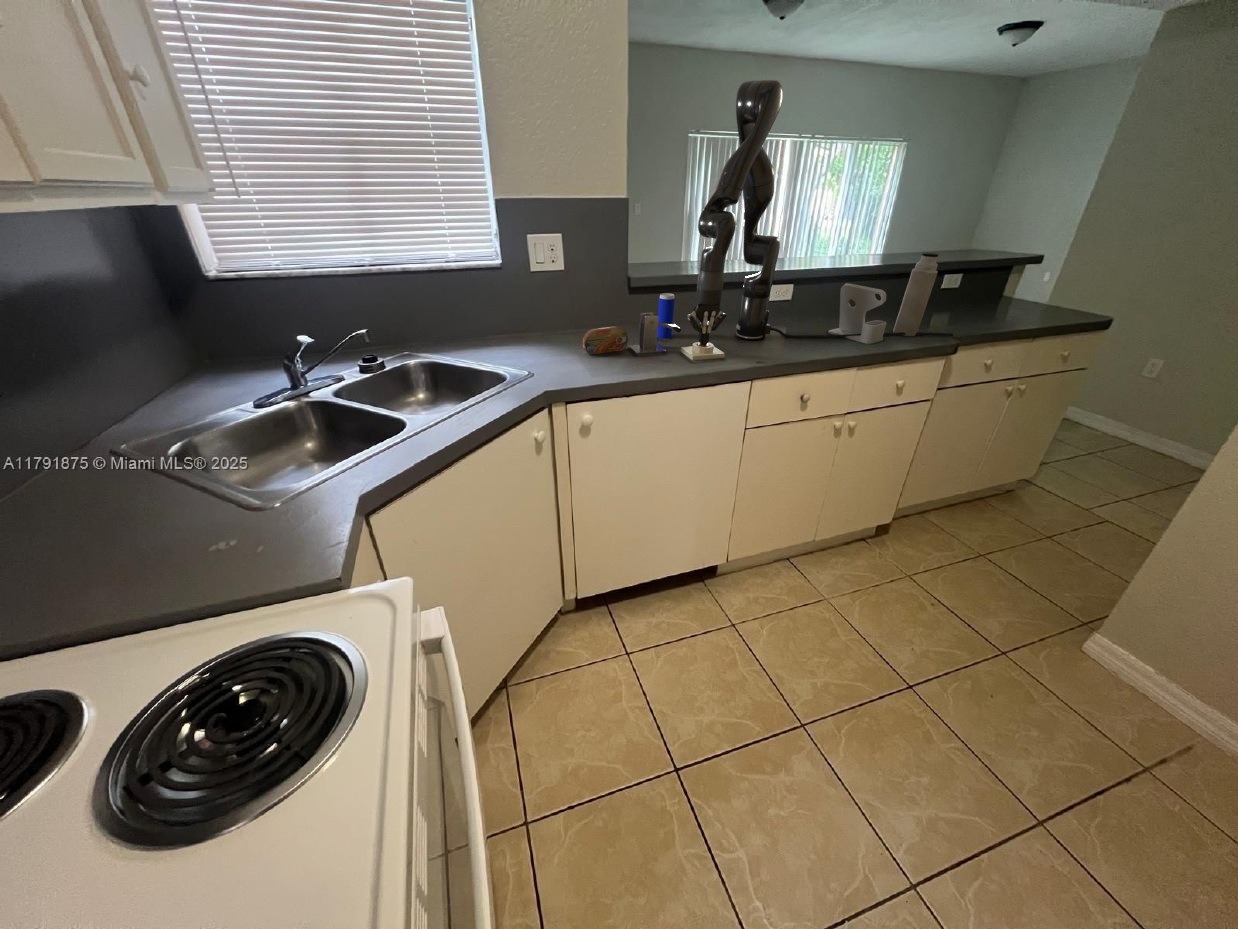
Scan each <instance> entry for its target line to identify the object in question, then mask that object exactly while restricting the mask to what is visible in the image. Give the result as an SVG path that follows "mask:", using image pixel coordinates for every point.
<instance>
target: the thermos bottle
mask: <svg viewBox="0 0 1238 929" xmlns="http://www.w3.org/2000/svg"><path fill="white" fill-rule="evenodd" d="M938 257H939V253H935V252H922V254H921V258H920V260H919V261H918V262H916V264H915V266H914V268H912V269H911V272H910V275H909V276H910V277H909V280H908V282H907V286H906V288H905V292H904V296H903V298H902V300H901V301H902V302H901V305H900V308H899V312H898V315H897V317H896V321H895V323H894V327H893V330H892V333H896V332H904V333H906V334H905V335H902V336H904V337H915V336H917V335H916V333H917V332H919V329H920V326H921V323H922V319H923V317H924V313H925V311H926V309H927V305H928V302H929V299H930V297H931V293H932V290H933V287H934V285H935V282H936V279H937V276H938V272H939V271H938V269H937V268H938V266H939V265H938V263H937V260H938Z"/></svg>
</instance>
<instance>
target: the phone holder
mask: <svg viewBox="0 0 1238 929" xmlns="http://www.w3.org/2000/svg"><path fill="white" fill-rule="evenodd" d="M839 294H840V296H839V297H840V299H839V325H838V326H839V327H837V328H833V329H829V330H828V334H829V335H845V334H861V335H860V336H846V337H843V338H845V339H848V340H852V341H856V342H858V343H863V344H867V345H871V344H875V343H879V342H882V341H883V340H884V335H883V334H884V333H885V331H886V327H887V322H886V321H885V320H880V319H876V320H875V319H874V320H871V321H867V322H866V313H867V312H869V311H871V310H873V309H876V308H878V307H880V306H882V305H883V304H885V302H886V301H887V293H886V291H884V290H883V289H880V288H876V287H869V286H866V285H859V284H855V283H847V282H846V283H845V284H843V285H842V286H841V287H840V293H839ZM876 294H877V295H879V296H880V300H879V299H877V297H876ZM851 300H852V301H853V302H854V306H852V305H851V304H850V301H851Z"/></svg>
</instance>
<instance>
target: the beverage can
mask: <svg viewBox="0 0 1238 929" xmlns="http://www.w3.org/2000/svg"><path fill="white" fill-rule="evenodd" d="M675 301H676V297H675V294H673V293H669V292H664V293H660V295H659V299H658V315H657V316H659V317H658V321H659V322H662V323H666V324H669V325H672V324H674V315H675ZM673 331H674V329H670V328H667V327H663V326H659V325H658V333H657V338H659V339H663V340H665V339H671V338H673Z"/></svg>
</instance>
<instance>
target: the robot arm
mask: <svg viewBox="0 0 1238 929" xmlns="http://www.w3.org/2000/svg"><path fill="white" fill-rule="evenodd" d="M735 96H736V98H735V119H736V120H735V121H736V128H737V133H738V135H737V136H738V140H739V141H738V142H739V147H738V148H737V149H735V151H734V152H733V154H731V155H730V157H729V158H728V160H726V163H725V164H724V166H723V168H722V171H721V174H720V175H719V179H718V182H717V185H716V188H715V190H714V192H713V194H712V195H711V197H710V198H709V199H708V201H707V202H706V204H705V206H704V207H703V209H702V211H701V213H700V215H699V218H698V222H697V229H698V230H697V231H698V233H699V235H700V236H701V237H703V238H706V239H707V238H708V239H715V241H714V243H713V245H712V246H709V247H705V248H703V249H702V250H701V254H700V261H699V270H698V275H697V282H696V293H695V304H694V307H693V311H692V312H691V313H690V314H689V313H688V314H686V319H687V321H688V322H689V324H690V325H691V327H692V328H693V330H694V331H696V332H698V342H699V343H700V344H701V345H707V343H710V335H711V334H710V333H711V332H716V330H717V329H718V328H719V327H720V325H721V324H722V323H723V322H724V320H725V319H726V318H727V314H726V313H724V312H723V311H722V308H721V303H722V297H723V296H722V295H723V290H724V289H723V287H724V280H725V279H724V278H725V265H726V257H727V254H728V251H729V248H730V245H731V243H732V241H733V238H734V235H735V232H736V228H737V220H736V216H735V214H734V213H733V212H732V211H730V210H725V209H727V208H729V207H732V206H735V205H737V204H738V202H739V201H740V198H741V196H742V204H743V244H742V253H743V254H742V255H743V260H744V262H745V263H746V264H747V265H752V266H759V267H761V270H760V271H759V272H758V273H755V274H752V275H748V276H745V278H744V281H743V287H742V294H741V300H740V307H739V315H738V320H737V323H736V334H735V336H736V337H737V338H739V339H741V340H747V341H760V340H762V339H766V335H771V331H772V332H776V333H778V334H780V335H781V336H782V337H785V338H788V339H789V338H790V339H829V338H831V339H832V338H834V339H835V338H844V337H846V336H860V335H861V334H845V335H833V334H787V333H784V332H783V330H781V329H778V328H775V327H772V325H771V324H770V323H769V318H770V317H769V316H770V310H768V307H769V302H770V296H771V292H772V291H771V290H772V285H773V281H774V279H775V278H774V277H775V273H776V268H777V264H778V260H779V254H780V248H781V247H780V246H781V240H780V238H779V237H778V236H775V235H767V234H766V235H765V234H759V232H758V228H759V223H760V220H761V218H762V216H763V215H764V213H765V212H766V210H767V209H768V207H769V205H770V204H771V202H772V200H773V198H774V195H775V169H774V166H773V164H772V160H771V159H770V157H769V156H768V153H767V152H766V150H765V149H764V146H763V145H764V143H765V141H766V140H767V137H768V136H769V134H770V132H771V131H772V128H773V126H774V124H775V122H776V121H777V118H778V116H779V113H780V111H781V107H782V104H783V99H784V98H783V97H784V90H783V86H782V84H781V82H780V81H779V80H777V79H758V80H757V79H756V80H755V79H754V80H746V81H744V82H742V83H741V84H740V85H739V87H738V89H737V92H736V95H735ZM696 320H698V322H697V321H696ZM905 334H906V333H904V332H896V333H894V332H884V334H883V336H903V335H905ZM916 336H945V337H951V336H952V337H953V336H954V332H932V331H931V332H929V331H928V332H925V331H924V332H923V331H922V332H921V331H918V332H917V333H916Z"/></svg>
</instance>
